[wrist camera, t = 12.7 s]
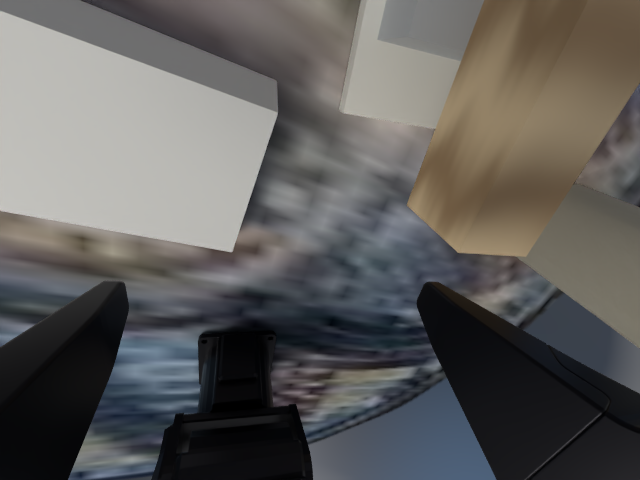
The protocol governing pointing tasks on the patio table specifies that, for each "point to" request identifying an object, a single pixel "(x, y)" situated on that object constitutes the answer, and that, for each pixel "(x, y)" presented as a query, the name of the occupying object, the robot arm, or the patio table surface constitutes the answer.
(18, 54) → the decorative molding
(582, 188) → the travel mug
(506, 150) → the oak bar
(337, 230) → the patio table surface
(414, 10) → the fulcrum stand
